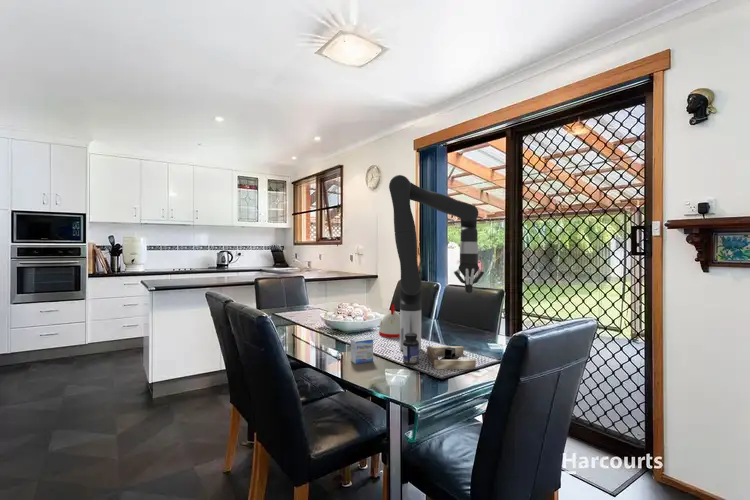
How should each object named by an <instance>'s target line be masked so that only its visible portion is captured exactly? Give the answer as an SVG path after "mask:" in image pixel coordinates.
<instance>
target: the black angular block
mask: <svg viewBox="0 0 750 500" xmlns="http://www.w3.org/2000/svg"><path fill="white" fill-rule="evenodd" d="M460 358H461V356H460V355H456V350H455V348H452V347H448V348H446V349H445V355H444V356H443V357H442V358H440V359H439V360H459V359H460Z"/></svg>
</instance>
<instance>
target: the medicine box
mask: <svg viewBox="0 0 750 500" xmlns="http://www.w3.org/2000/svg"><path fill="white" fill-rule="evenodd" d="M350 361H351V362H352V363H353V364H354V365H357V364H364V363H370V362H371V363H372V362H374V339H372V338H370V337H362V338H355V339H350Z"/></svg>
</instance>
